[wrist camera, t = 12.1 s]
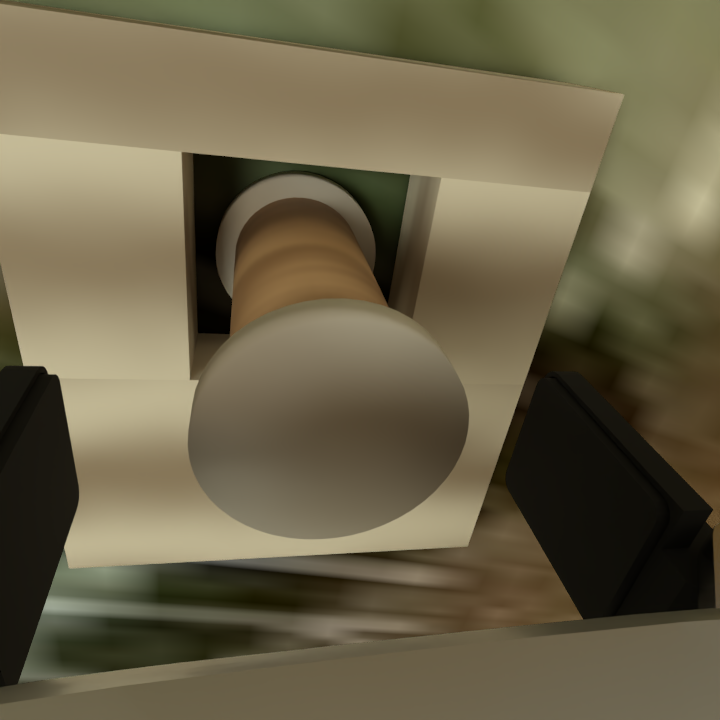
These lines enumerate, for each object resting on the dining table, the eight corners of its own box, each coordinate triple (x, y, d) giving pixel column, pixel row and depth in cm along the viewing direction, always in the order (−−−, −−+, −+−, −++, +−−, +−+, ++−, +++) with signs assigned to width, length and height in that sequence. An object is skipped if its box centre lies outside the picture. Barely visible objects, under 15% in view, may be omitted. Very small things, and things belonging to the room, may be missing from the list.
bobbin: (360, 320, 20) (438, 533, 12) (217, 315, 19) (191, 545, 11) (381, 179, 18) (499, 326, 9) (216, 163, 16) (181, 313, 8)
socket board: (446, 495, 26) (467, 546, 24) (89, 507, 23) (69, 568, 20) (568, 82, 17) (624, 94, 14) (-3, -1, 14) (-60, -5, 11)
